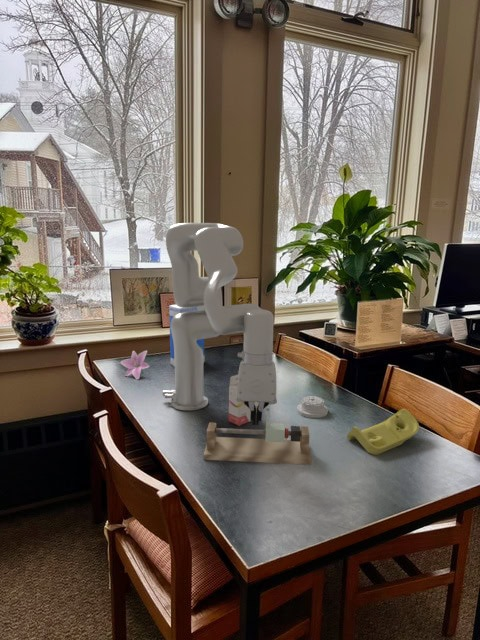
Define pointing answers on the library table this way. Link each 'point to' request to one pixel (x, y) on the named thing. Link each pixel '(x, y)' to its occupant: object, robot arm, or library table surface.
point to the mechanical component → (312, 407)
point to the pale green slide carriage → (274, 430)
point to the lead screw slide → (258, 446)
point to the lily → (135, 364)
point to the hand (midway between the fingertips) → (256, 422)
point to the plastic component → (386, 433)
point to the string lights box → (172, 312)
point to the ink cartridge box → (237, 405)
